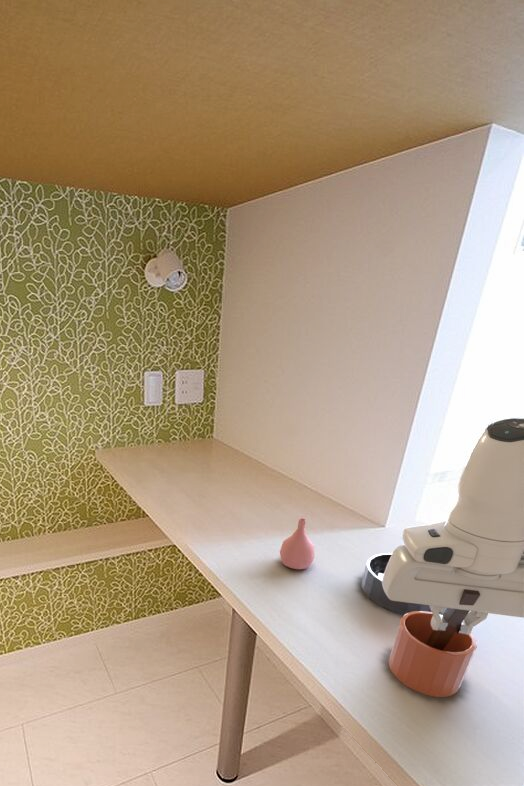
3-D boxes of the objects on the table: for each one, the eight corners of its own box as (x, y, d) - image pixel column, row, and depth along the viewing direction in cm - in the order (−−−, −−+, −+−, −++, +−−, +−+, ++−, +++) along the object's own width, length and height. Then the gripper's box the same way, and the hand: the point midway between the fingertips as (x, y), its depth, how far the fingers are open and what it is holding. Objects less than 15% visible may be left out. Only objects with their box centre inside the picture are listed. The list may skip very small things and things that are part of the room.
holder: (445, 658, 74) (461, 615, 70) (468, 706, 65) (488, 660, 61) (381, 649, 76) (393, 607, 72) (395, 693, 67) (410, 648, 63)
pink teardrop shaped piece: (304, 557, 104) (311, 511, 99) (318, 574, 97) (326, 526, 92) (273, 559, 103) (279, 513, 98) (285, 576, 96) (292, 528, 91)
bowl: (428, 581, 96) (435, 557, 93) (452, 624, 82) (462, 598, 80) (355, 572, 98) (360, 549, 96) (367, 613, 85) (374, 587, 82)
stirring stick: (429, 656, 70) (476, 584, 58) (432, 666, 69) (480, 595, 57) (417, 655, 70) (461, 583, 58) (420, 665, 69) (465, 593, 57)
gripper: (556, 543, 58) (519, 627, 63) (392, 527, 61) (371, 607, 67) (586, 568, 52) (542, 656, 58) (403, 548, 56) (379, 633, 62)
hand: (448, 629), depth 63 cm, fingers closed on stirring stick, 2 cm apart
